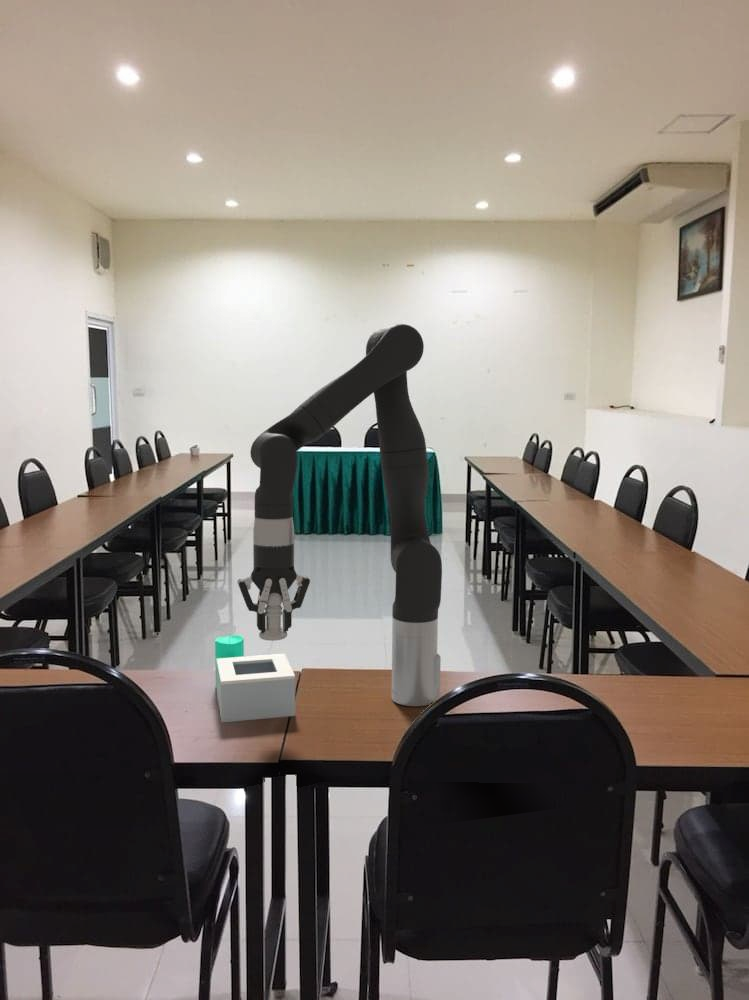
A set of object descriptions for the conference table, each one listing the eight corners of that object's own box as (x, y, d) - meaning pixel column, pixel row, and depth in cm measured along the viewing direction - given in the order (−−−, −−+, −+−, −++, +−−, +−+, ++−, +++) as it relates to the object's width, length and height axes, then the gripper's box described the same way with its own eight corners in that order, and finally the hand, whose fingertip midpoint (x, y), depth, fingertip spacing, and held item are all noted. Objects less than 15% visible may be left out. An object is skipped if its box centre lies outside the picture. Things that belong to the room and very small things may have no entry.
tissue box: (284, 690, 163) (284, 653, 162) (295, 715, 150) (295, 675, 149) (217, 696, 160) (216, 658, 159) (221, 722, 146) (220, 681, 145)
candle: (245, 681, 168) (245, 627, 167) (242, 691, 162) (241, 635, 161) (218, 681, 168) (217, 627, 167) (213, 691, 162) (212, 635, 161)
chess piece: (293, 637, 146) (293, 590, 145) (270, 643, 142) (270, 595, 141) (275, 631, 150) (275, 586, 149) (253, 636, 146) (252, 590, 145)
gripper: (307, 536, 150) (307, 623, 152) (233, 539, 146) (233, 628, 148) (315, 543, 143) (315, 634, 145) (237, 545, 139) (238, 639, 141)
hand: (274, 630), depth 146 cm, fingers closed on chess piece, 3 cm apart
